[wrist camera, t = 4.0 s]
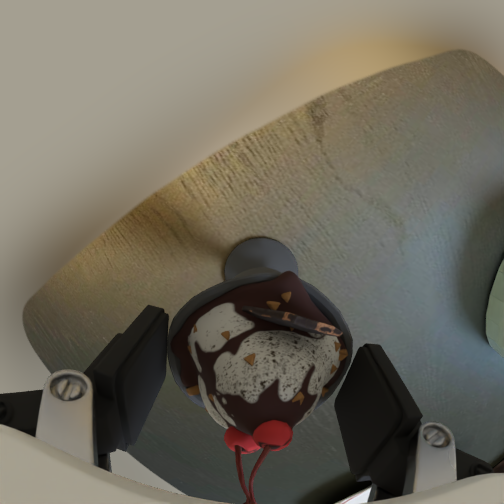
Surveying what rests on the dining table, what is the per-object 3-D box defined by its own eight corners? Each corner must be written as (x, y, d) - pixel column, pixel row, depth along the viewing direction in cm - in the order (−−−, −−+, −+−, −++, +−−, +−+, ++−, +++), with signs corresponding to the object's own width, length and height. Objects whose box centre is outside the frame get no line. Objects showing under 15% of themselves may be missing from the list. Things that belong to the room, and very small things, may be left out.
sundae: (243, 332, 20) (217, 532, 6) (194, 254, 19) (59, 418, 4) (325, 292, 19) (415, 482, 5) (282, 206, 18) (359, 312, 3)
